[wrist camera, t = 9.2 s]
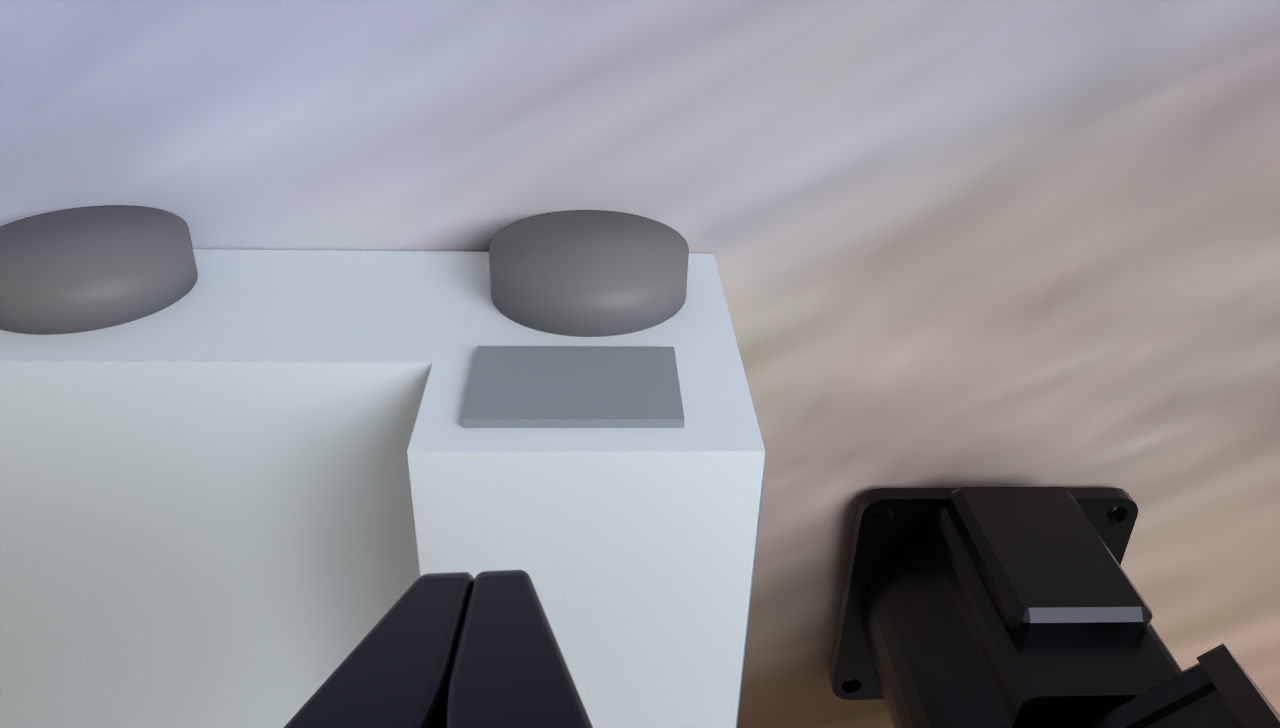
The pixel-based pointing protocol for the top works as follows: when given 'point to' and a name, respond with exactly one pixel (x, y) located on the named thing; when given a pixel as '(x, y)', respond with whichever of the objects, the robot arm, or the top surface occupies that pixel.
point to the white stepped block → (363, 463)
